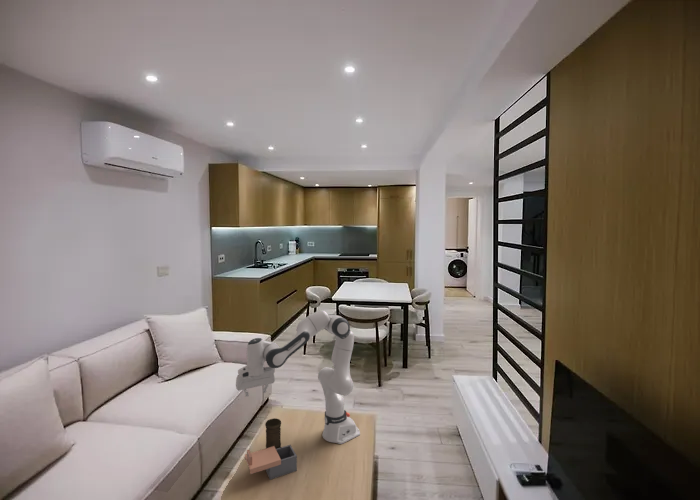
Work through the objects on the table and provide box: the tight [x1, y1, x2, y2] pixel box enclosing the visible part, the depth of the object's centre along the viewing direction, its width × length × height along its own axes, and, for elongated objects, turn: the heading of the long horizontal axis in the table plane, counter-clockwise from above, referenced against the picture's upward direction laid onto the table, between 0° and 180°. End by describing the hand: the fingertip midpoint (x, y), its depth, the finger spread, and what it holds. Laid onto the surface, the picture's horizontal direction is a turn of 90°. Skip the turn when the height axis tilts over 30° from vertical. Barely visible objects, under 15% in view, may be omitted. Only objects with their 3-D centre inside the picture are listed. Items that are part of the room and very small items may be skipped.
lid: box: [244, 446, 281, 475], centre depth 177 cm, size 15×12×6 cm
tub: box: [264, 444, 298, 481], centre depth 181 cm, size 14×10×8 cm
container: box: [265, 418, 282, 449], centre depth 192 cm, size 9×9×18 cm
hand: (255, 394), depth 190 cm, fingers open, 8 cm apart
